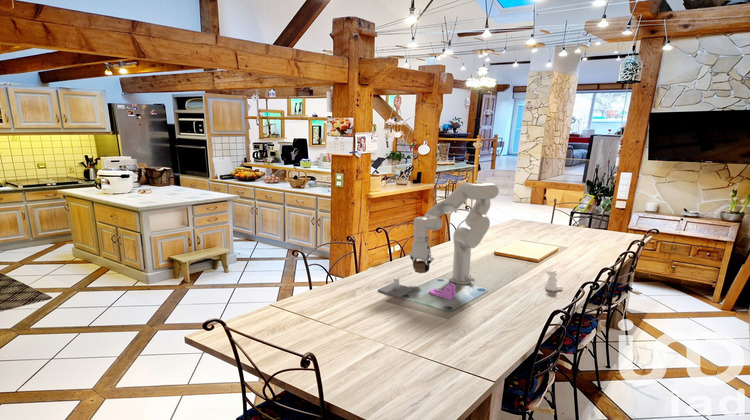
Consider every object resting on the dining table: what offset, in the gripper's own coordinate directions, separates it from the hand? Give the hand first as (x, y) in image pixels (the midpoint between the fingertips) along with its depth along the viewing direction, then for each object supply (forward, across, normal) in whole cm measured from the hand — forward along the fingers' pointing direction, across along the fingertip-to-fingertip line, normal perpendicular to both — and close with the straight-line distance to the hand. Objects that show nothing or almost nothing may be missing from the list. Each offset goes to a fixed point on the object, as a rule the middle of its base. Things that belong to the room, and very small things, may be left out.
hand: (421, 269), depth 229 cm
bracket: (+10, -16, +6) cm, 19 cm away
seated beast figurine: (+13, -59, -42) cm, 74 cm away
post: (+8, +5, +18) cm, 20 cm away
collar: (+1, 0, 0) cm, 1 cm away
